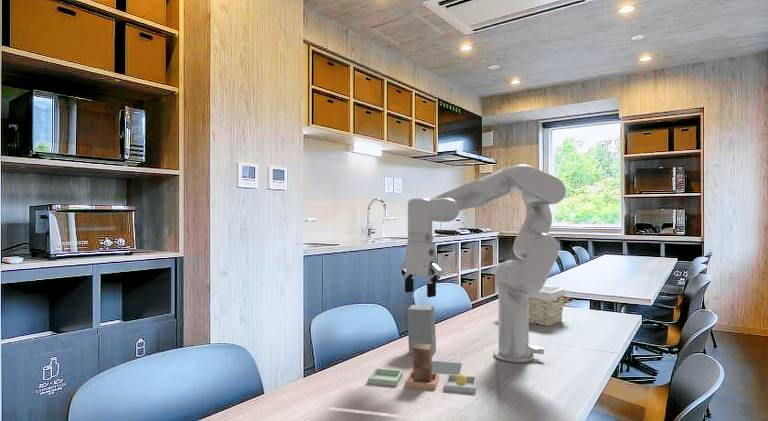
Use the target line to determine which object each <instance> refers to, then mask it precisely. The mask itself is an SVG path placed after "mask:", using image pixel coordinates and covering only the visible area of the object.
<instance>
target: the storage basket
mask: <svg viewBox="0 0 768 421" xmlns="http://www.w3.org/2000/svg"><path fill="white" fill-rule="evenodd" d="M565 295H566V290H565V288H564V287H563V288H561V287H557V286H551V285H546V284H544V286H543V287H542V289H541V290H540V291H539V292H537V293H535V294H527V297H528V304H529V324H533V325H534V324H536V325H540V326H545V327H550V326H552V325H555V324H556V323H557V324H558V323H560V322H561V321H562V320H563V311H564V297H565Z"/></svg>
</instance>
